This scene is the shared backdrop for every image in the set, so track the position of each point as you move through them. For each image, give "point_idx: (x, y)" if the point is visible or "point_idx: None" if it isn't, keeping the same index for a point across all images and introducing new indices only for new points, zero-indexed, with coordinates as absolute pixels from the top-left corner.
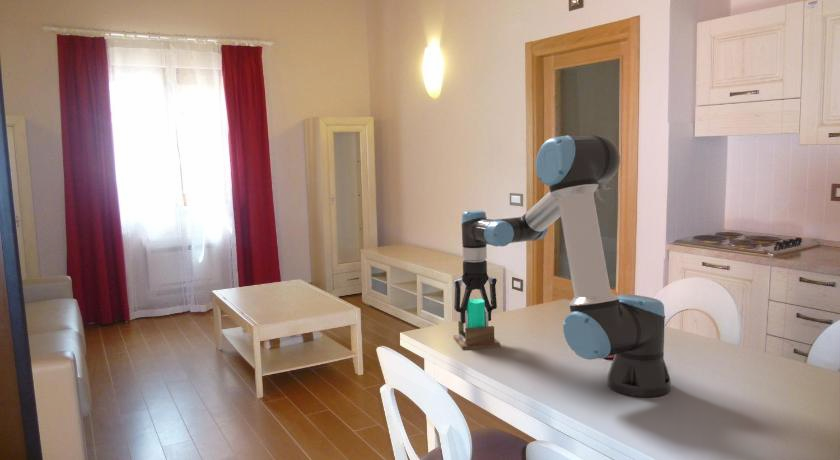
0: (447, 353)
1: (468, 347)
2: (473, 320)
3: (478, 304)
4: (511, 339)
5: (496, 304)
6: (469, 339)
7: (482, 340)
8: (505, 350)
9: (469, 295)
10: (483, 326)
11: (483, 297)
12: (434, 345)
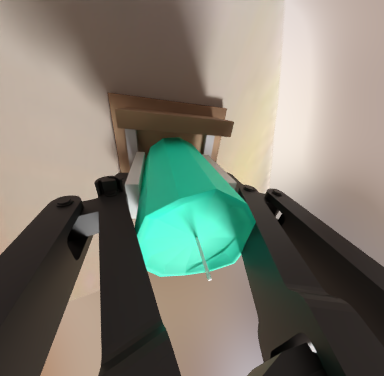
0: (266, 92)
1: (209, 106)
2: (201, 156)
3: (200, 187)
4: (62, 150)
5: (39, 215)
6: (209, 117)
7: (167, 112)
8: (95, 30)
9: (281, 265)
10: (156, 150)
11: (143, 262)
12: (257, 161)
